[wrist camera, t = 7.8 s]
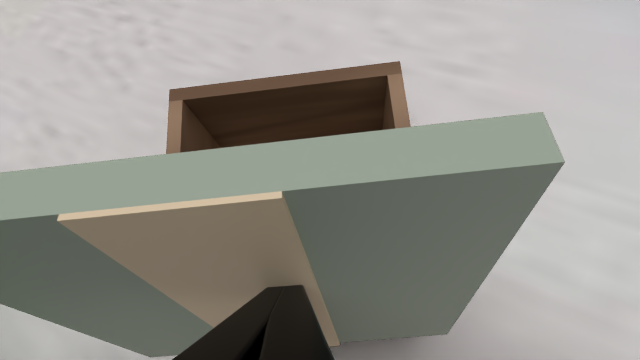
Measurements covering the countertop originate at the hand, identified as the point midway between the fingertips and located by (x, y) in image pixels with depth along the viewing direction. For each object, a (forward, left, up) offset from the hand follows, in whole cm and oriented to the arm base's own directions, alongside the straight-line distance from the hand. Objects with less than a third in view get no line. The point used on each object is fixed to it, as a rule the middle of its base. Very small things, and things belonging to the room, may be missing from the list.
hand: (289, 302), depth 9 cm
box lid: (+1, +1, -1) cm, 2 cm away
